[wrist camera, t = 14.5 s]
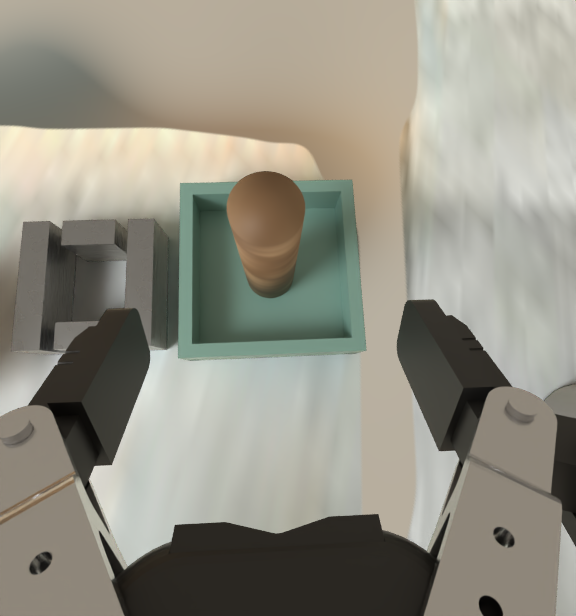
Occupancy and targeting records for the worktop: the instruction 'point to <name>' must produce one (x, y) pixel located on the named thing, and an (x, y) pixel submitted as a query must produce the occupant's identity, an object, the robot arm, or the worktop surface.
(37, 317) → the socket block
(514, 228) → the worktop surface
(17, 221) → the worktop surface
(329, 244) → the tray
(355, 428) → the worktop surface
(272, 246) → the wooden pin
